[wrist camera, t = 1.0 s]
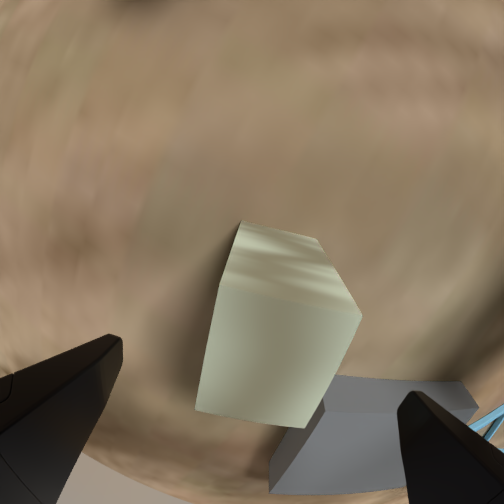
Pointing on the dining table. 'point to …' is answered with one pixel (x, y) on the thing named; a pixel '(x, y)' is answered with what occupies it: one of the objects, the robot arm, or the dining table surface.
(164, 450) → the dining table surface
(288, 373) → the sage block
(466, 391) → the grey block
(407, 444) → the robot arm
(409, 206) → the dining table surface
